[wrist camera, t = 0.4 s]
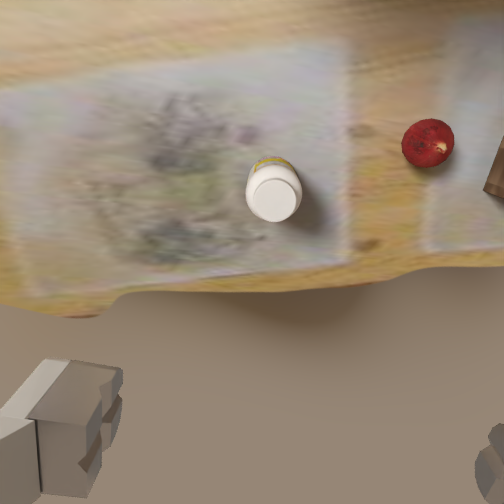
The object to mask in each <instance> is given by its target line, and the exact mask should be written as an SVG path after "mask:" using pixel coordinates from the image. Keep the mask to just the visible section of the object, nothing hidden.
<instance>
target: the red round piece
mask: <svg viewBox="0 0 504 504" xmlns="http://www.w3.org/2000/svg"><path fill="white" fill-rule="evenodd" d="M401 144H402V152H403V154H404V156H405V157H406V159H407V160H408V161H409V162H410V163H412V164H413V165H415V166H418V167H425V168H428V167H434V166H437V165H439V164H440V163H442V162H443V161H445V160H446V159H447V157H448V156H449V155H450V154H451V152H452V149H453V146H454V135H453V132H452V130H451V128H450V126H448V125H447V124H446V123H444V122H443V121H441V120H436V119H425V120H421V121H419V122H417V123H415V124H413V125H412V126H411V127H410V128H409V129H408V130H407V131H406V132H405V134H404V137H403V140H402V143H401Z"/></svg>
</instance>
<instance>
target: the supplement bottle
mask: <svg viewBox="0 0 504 504" xmlns="http://www.w3.org/2000/svg"><path fill="white" fill-rule="evenodd" d="M301 200H302V187H301V183H300V181H299V179H298V177H297V175H296V173H295V171H294V169H293V167H292V166H291V165H290V163H288V162H287V161H286V160H284V159H282V158H280V157H275V156H270V157H265V158H263V159H261V160H259V161H258V162H257V163H255V165H254V166H253V167H252V169H251V171H250V173H249V177H248V182H247V187H246V201H247V204H248V206H249V208H250V210H251V211H252V212H253V213H254V214H255V215H256V216H257V217H259V218H261V219H263V220H266V221H270V222H279V221H282V220H285V219H286V218H288V217H290V216H291V215H292V214H293V213H294V212H295V211H296V210H297V209H298V207H299V205H300V203H301Z"/></svg>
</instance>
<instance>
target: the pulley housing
mask: <svg viewBox="0 0 504 504" xmlns="http://www.w3.org/2000/svg"><path fill="white" fill-rule="evenodd" d="M483 190H484V191H486V192H489V193H491V194H494V195H496V196H499V197H501V198H504V136H503V139H502V141H501V144H500V147H499V149H498V152H497V155H496V157H495V160H494V162H493V165H492V168H491V170H490V173H489V176H488V178H487V181H486V184H485V186H484V189H483Z"/></svg>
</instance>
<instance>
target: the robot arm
mask: <svg viewBox="0 0 504 504" xmlns="http://www.w3.org/2000/svg"><path fill="white" fill-rule="evenodd" d="M122 384H123V370H122V369H121V368H118V367H113V366H106V365H100V364H95V363H89V362H83V361H77V360H74V361H73V360H69V359H63V358H56V357H49V358H46V359H45V360H43V361H42V362H41V364H40V365H39V366H38V367H37V368H36V369H35V370H34V372H33V373H32V374H31V375H30V376H29V377H28V379H27V380H26V381H25V382H24V383H23V384H22V385H21V387H20V388H19V389H18V390H17V391H16V392H15V393H14V395H13V396H12V397H11V398H10V399H9V400H8V402H7V403H6V404H5V405H4V406H3V407H2V408H1V410H0V504H32V503H33V502H35V501H36V500H37V499H38V498H39V497H40V496H41V494H51V495H60V496H69V497H79V498H87V497H88V495H89V493H90V490H91V488H92V486H93V484H94V482H95V480H96V477H97V475H98V473H99V471H100V468H101V466H102V452H103V451H105V450H106V449H108V448H109V447H110V446H111V444H112V442H113V439H114V437H115V435H116V432H117V428H118V425H119V422H120V417H121V411H122V398H121V397H120V396H119V395H118V392H119V390H120V387H121V386H122ZM488 438H489V441H490V444H491V445H489V446H488V447H486V448H485V449H483V450H482V451H480V453H479V455H478V457H477V459H476V461H475V478H476V481H477V484H478V488H479V490H480V492H481V493H482V495H483V497H484V499H485V500H486V501H487V502H488V503H489V504H504V424H498V425H496V426H495V427H493V428H492V430H491V432H490V433H489V435H488ZM40 493H41V494H40Z"/></svg>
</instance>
